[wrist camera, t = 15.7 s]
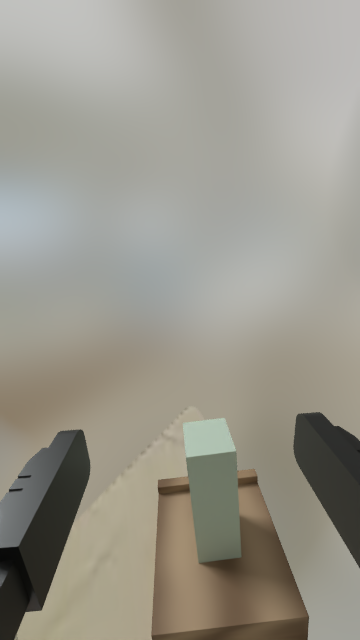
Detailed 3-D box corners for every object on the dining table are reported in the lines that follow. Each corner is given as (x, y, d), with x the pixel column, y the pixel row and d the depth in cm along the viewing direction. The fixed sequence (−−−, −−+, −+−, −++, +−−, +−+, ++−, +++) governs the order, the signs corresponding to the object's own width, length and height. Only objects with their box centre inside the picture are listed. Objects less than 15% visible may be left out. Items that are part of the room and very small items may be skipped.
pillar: (198, 563, 22) (185, 457, 19) (193, 516, 26) (182, 423, 22) (241, 557, 22) (236, 451, 19) (230, 512, 26) (224, 417, 22)
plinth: (156, 658, 19) (149, 627, 18) (162, 504, 30) (158, 479, 29) (307, 640, 19) (309, 608, 18) (255, 493, 30) (254, 468, 29)
